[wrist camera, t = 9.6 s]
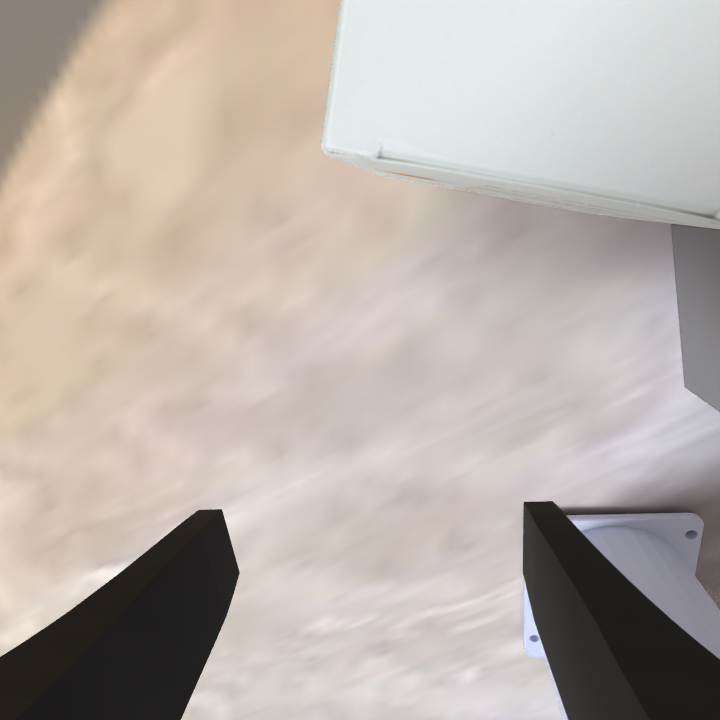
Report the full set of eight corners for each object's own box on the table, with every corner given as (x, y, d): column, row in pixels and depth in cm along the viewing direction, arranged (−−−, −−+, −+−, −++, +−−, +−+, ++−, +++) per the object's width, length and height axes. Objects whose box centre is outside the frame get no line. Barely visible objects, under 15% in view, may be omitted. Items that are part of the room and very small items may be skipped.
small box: (630, 43, 15) (1047, -244, 5) (572, 214, 17) (789, 242, 7) (399, 4, 15) (374, -337, 5) (370, 176, 17) (313, 152, 7)
